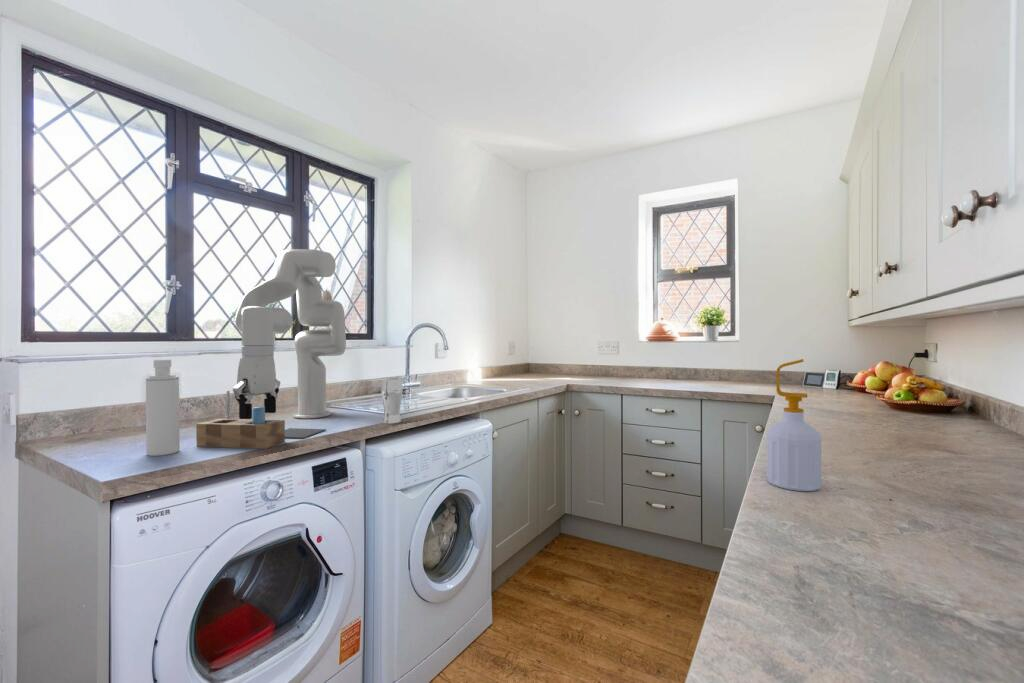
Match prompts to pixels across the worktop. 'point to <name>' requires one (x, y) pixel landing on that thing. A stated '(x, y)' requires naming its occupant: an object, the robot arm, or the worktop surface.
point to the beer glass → (391, 399)
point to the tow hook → (227, 406)
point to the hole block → (240, 433)
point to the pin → (258, 415)
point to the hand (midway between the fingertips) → (258, 415)
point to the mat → (301, 433)
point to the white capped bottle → (162, 410)
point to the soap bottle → (793, 447)
